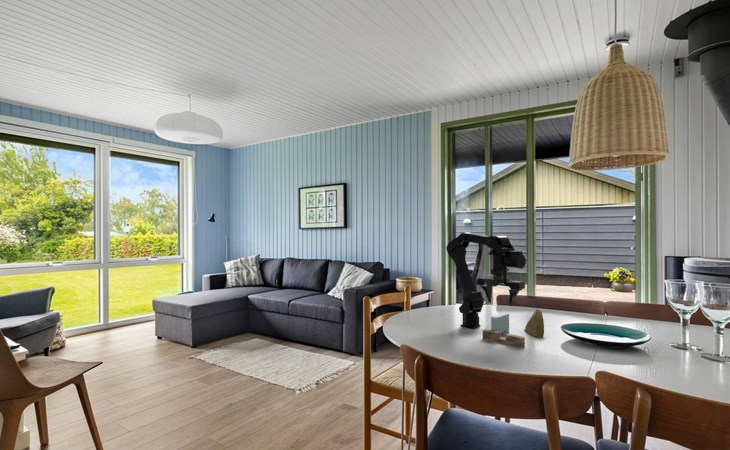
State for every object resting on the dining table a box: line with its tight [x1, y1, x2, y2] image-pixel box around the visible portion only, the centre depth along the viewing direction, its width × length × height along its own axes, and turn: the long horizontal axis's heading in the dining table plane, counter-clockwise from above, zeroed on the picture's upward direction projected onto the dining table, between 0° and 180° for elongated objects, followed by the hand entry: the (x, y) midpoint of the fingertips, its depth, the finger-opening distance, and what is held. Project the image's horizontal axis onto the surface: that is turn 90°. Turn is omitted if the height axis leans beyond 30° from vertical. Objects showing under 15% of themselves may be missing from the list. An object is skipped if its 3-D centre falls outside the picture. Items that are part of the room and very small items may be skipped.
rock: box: [524, 309, 545, 338], centre depth 160 cm, size 11×9×10 cm
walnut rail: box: [481, 328, 526, 349], centre depth 149 cm, size 16×2×4 cm, turn 42°
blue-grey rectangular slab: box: [490, 312, 510, 337], centre depth 159 cm, size 10×2×8 cm, turn 132°
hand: (500, 304), depth 159 cm, fingers open, 9 cm apart
